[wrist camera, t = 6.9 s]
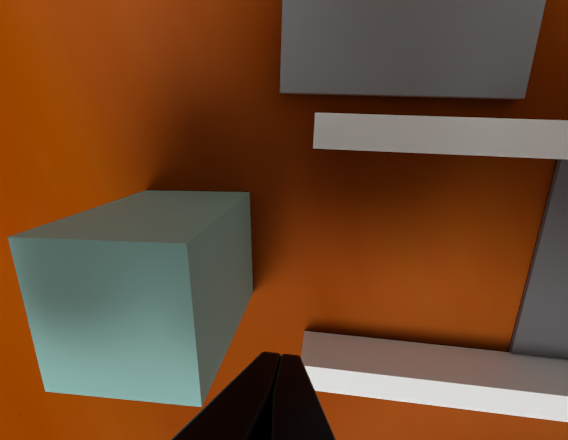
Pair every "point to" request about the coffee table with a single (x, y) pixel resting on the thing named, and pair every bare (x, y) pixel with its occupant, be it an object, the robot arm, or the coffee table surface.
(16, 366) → the coffee table surface
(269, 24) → the coffee table surface
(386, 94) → the coaster
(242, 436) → the robot arm
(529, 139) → the channel
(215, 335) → the block
